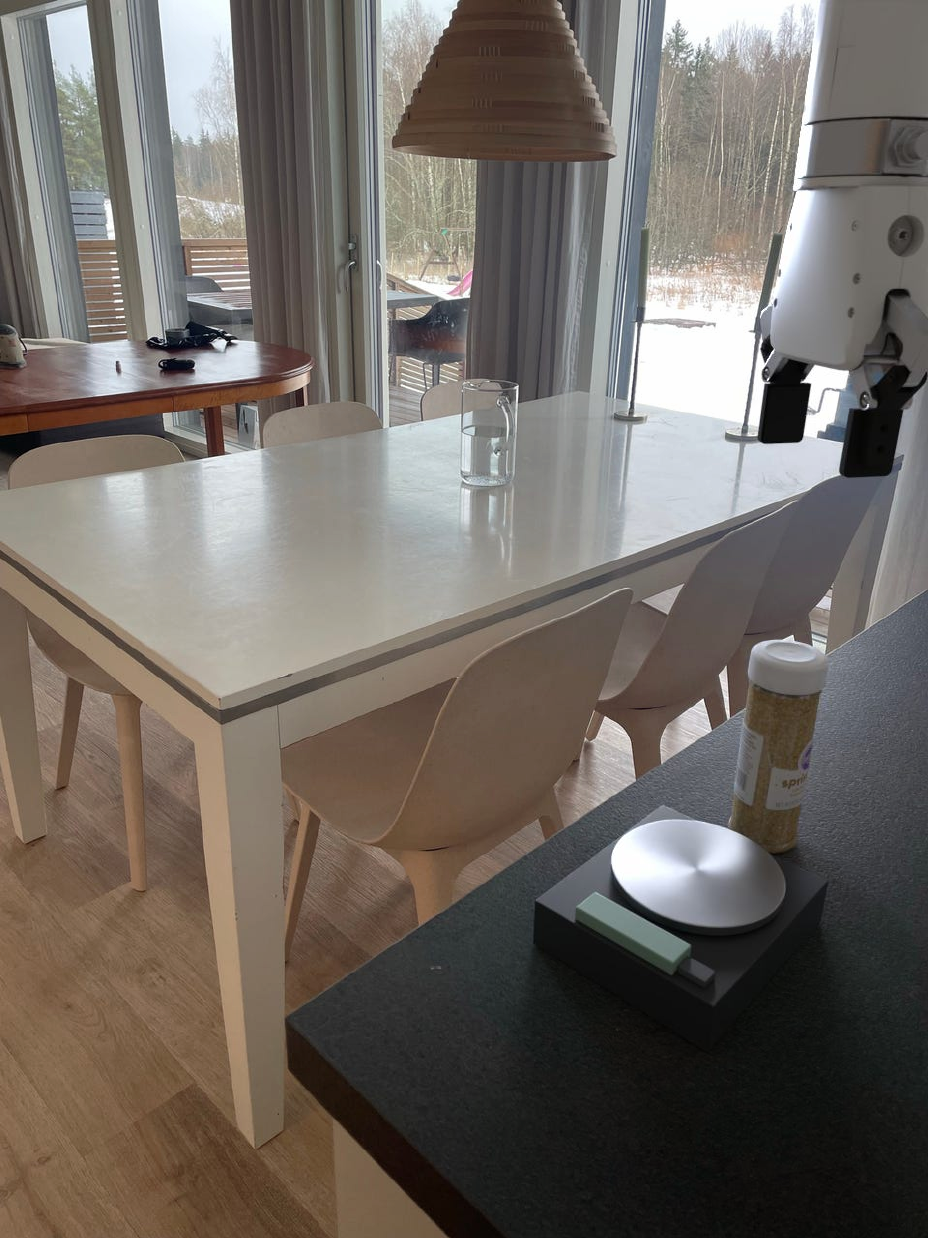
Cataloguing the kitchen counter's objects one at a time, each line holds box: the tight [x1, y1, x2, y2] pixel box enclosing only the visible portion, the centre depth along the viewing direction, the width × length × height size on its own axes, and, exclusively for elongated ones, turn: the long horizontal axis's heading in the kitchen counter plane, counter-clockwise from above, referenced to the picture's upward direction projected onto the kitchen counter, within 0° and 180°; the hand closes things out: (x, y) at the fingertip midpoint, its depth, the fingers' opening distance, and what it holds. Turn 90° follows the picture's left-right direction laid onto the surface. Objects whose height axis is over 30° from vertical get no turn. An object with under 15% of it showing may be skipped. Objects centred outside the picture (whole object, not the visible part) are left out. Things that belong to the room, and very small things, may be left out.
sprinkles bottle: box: [727, 639, 829, 854], centre depth 59 cm, size 5×5×13 cm
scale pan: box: [611, 820, 786, 936], centre depth 53 cm, size 10×10×1 cm
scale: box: [532, 804, 829, 1053], centre depth 52 cm, size 13×11×4 cm
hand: (818, 457), depth 60 cm, fingers open, 9 cm apart
